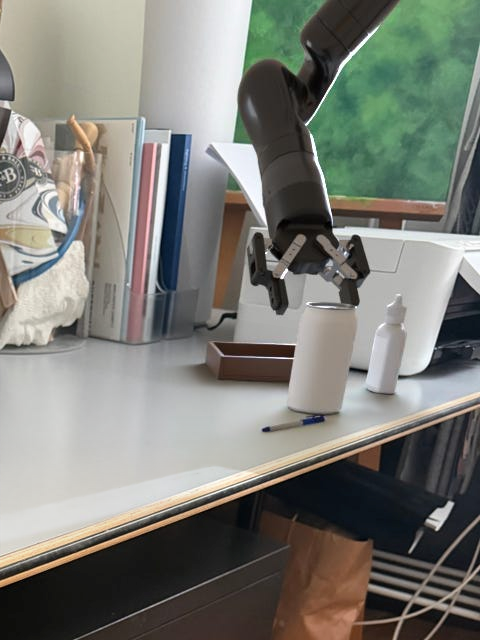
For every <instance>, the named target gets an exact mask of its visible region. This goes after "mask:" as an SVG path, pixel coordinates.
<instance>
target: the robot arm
mask: <svg viewBox="0 0 480 640" xmlns="http://www.w3.org/2000/svg"><path fill="white" fill-rule="evenodd" d="M401 1H402V0H325V1H323V3H322V4H321V5H320V6H319V7H318V8H317V9H316V11H315V12H314V14H312V15H311V16H310V18H309V19H308V20H307V21H306V22H305V24H304V25H303V26H302V28H301V30H300V32H299V34H298V36H299V37H298V38H299V39H298V40H299V44H300V46H301V49H302V51H303V53H304V60H303V62H302V63H301V66H300V67H299V70H298V71H297V73H296V74H295V73H294V72H293V70H291V69H290V68H289V67H288V66H287V65H286V64H285V63H284V62H283V61H281V60H280V59H277V58H273V57H266V58H262V59H259V60H257V61H255V62H254V63H252V64H251V65H250V66H249V67H248V68H247V70H246V71H245V72H244V73H243V75H242V77H241V79H240V82H239V85H238V88H237V94H236V95H237V96H236V103H237V109H238V113H239V117H240V119H241V122H242V125H243V127H244V129H245V132H246V135H247V137H248V139H249V142H250V144H251V145H252V148H253V150H254V152H255V155H256V158H257V166H258V171H259V177H260V181H261V182H260V183H261V198H262V207H263V209H264V215H265V222H266V226H267V232H268V237H269V238H268V237H267V238H266V237H264V234H263V233H262V232H259V231H255V233H254V234H253V235H252V237H251V239H250V241H249V244H248V245H247V248H246V253H247V263H248V274H249V283H250V284H251V286H253V287H258V286H263V287H264V288H265V289H266V290H267V293H268V298H269V304H270V308H271V310H272V311H275V315H276V316H284V315H285V313H286V311H287V310H288V308H289V306H290V302H289V301H290V300H289V296H288V292H287V286H286V281H285V278H284V276H285V275H286V274H287V272H290V273H292V275H295V276H299V275H303V274H306V275H310V276H318V275H319V276H320V277H321V278H322V279H323V280H324V281H325V282H326V283H330V282H331V284H333V285H334V286H335V287H336V288H337V289H338V290H339V291H338V296H339V303H344V304H350V305H354V306H356V307H357V308H358V307H359V305H360V302H361V299H360V295H359V290H358V289H359V288H361V287H362V285H363V283H364V282H365V280H366V279H367V278H368V276H369V275H371V268H370V265H369V261H368V258H367V253H366V251H365V247H364V244H363V241H362V237H361V236H360V235H359V234H352V236H351V237H350V238H349V239H339V238H338V237H337V236H336V234H335V233H334V227H333V226H334V224H333V222H334V221H333V215H332V211H331V205H330V201H329V197H328V191H327V187H326V182H325V177H324V173H323V171H322V169H321V166H320V163H319V160H318V156H317V155H318V154H317V150H316V145H315V141H314V138H313V135H312V132H311V130H310V129H309V127H308V124H309V123H310V121H312V119H313V118H314V116H315V115H316V113H317V112H318V110H319V108H320V106H321V105H322V103H323V101H324V100H325V98H326V96H327V94H328V93H329V91H330V90H331V88H332V87H333V85H334V83H335V81H336V80H337V77H338V76H339V74H340V72H341V70H342V69H343V67H344V66H345V65H346V63H347V62H349V60H350V59H352V56H354V55H355V54H356V53H357V52H358V51H359V50H360V49H361V47H363V45H364V44H365V43H366V42H367V41H368V40H369V39H370V37H372V36H373V34H374V33H375V32H376V31H377V30H378V28H380V26H381V25H382V24H383V23H384V22H385V21H386V20H387V18H388V17H389V16H390V15H391V13H392V12H394V10H395V8H397V6H398V5H399V4H400V2H401ZM268 252H269V253H270V254H271V255H272V256H273V257H274V258H275V259H276V260H277V261H278V263H277V264H276V266H275V268H274V269H273V270H271V269H268V264H267V263H268V262H267V256H266V255H267V253H268ZM330 261H331V262H332V266H331V268H329V267H328V265H329V263H330ZM340 274H341V275H340Z"/></svg>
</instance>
